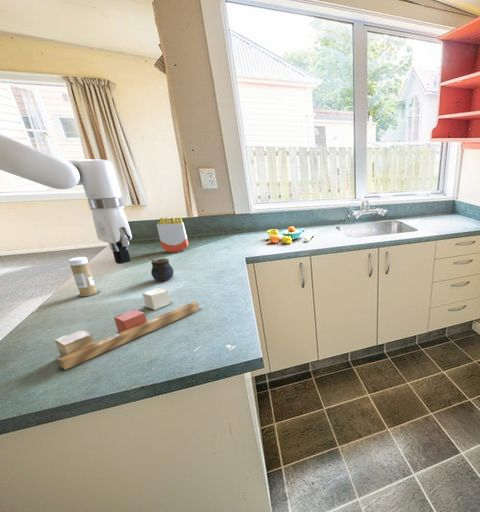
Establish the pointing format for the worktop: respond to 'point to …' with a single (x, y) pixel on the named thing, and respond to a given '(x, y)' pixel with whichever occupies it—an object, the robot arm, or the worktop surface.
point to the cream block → (156, 298)
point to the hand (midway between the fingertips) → (123, 262)
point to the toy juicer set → (287, 235)
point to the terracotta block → (129, 320)
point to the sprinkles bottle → (82, 276)
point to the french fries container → (172, 235)
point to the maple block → (73, 342)
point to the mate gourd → (161, 269)
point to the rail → (125, 336)
